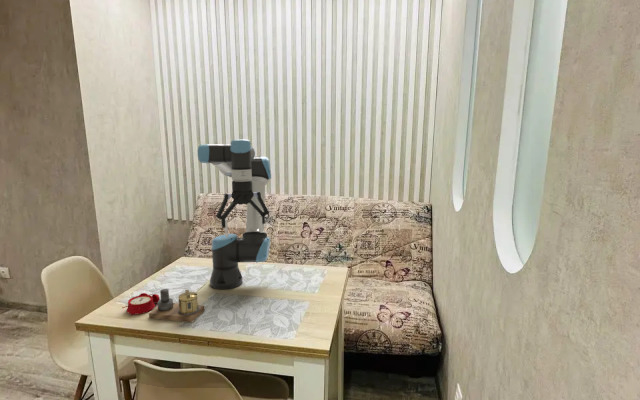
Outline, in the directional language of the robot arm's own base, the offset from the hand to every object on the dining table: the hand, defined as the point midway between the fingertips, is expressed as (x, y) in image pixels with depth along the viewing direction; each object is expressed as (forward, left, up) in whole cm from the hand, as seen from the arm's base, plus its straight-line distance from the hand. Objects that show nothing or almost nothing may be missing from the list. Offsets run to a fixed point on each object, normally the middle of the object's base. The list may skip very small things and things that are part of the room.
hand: (243, 233), depth 145 cm
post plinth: (-14, -23, -32) cm, 42 cm away
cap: (-10, -20, -29) cm, 37 cm away
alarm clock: (-29, -31, -32) cm, 53 cm away
